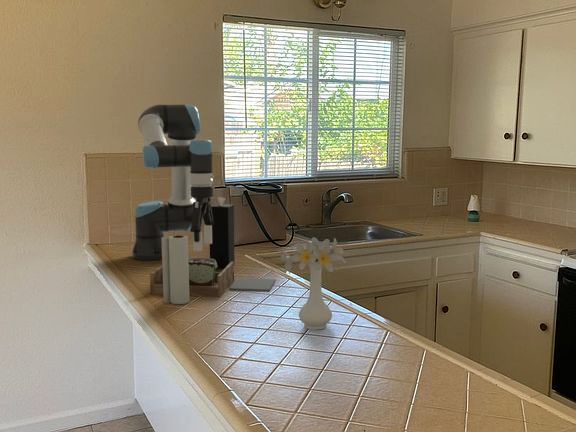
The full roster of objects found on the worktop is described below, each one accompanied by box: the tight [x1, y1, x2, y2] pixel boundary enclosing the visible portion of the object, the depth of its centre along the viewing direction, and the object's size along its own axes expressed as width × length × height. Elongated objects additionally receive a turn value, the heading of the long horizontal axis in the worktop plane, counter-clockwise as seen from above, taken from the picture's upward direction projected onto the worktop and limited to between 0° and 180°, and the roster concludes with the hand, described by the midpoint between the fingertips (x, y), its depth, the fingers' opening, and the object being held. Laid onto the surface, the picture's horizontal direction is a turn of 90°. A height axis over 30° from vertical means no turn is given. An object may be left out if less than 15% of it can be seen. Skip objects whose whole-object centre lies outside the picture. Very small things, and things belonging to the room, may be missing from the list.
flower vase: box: [279, 236, 347, 331], centre depth 168 cm, size 13×18×25 cm
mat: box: [228, 277, 277, 292], centre depth 214 cm, size 14×14×1 cm
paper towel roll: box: [161, 234, 190, 305], centre depth 193 cm, size 7×6×21 cm
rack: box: [149, 262, 235, 297], centre depth 212 cm, size 21×24×7 cm
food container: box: [188, 257, 217, 286], centre depth 211 cm, size 12×6×10 cm, turn 71°
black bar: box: [209, 196, 236, 270], centre depth 239 cm, size 8×8×28 cm
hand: (203, 247), depth 209 cm, fingers open, 13 cm apart
